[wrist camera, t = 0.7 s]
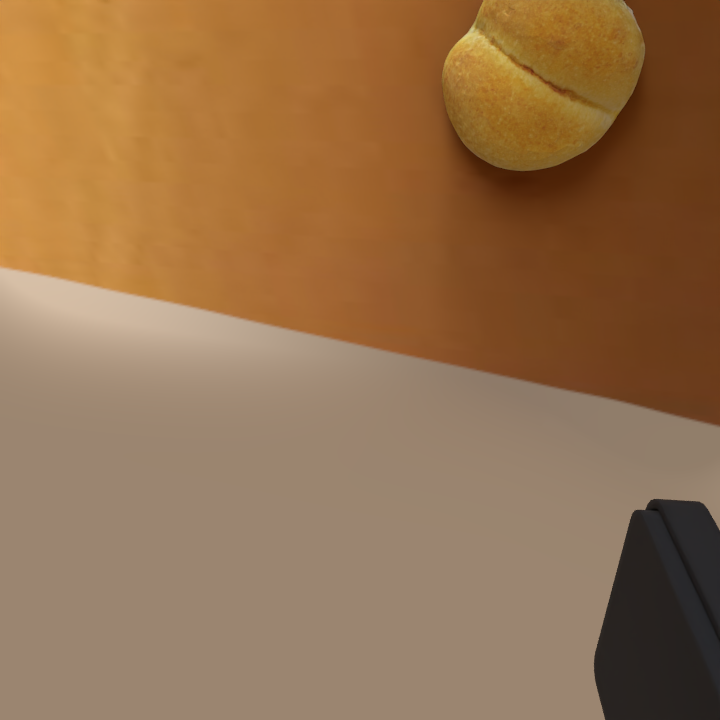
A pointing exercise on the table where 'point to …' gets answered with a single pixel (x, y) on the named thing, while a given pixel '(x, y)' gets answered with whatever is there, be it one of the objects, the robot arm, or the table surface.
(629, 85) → the bread roll
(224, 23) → the table surface
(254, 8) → the table surface
